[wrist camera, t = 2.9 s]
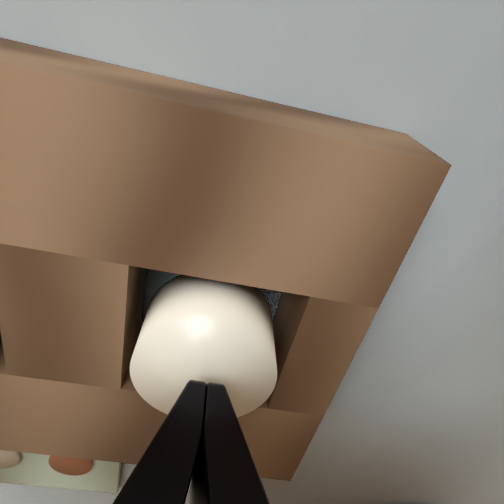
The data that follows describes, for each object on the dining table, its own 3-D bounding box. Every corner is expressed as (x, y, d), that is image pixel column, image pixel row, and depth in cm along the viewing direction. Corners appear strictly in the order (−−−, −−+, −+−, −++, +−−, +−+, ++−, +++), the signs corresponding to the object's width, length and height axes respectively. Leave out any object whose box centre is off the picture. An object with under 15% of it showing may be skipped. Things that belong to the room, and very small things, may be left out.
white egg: (286, 283, 10) (295, 334, 9) (256, 371, 12) (258, 429, 10) (153, 259, 10) (134, 309, 8) (143, 355, 12) (125, 412, 10)
